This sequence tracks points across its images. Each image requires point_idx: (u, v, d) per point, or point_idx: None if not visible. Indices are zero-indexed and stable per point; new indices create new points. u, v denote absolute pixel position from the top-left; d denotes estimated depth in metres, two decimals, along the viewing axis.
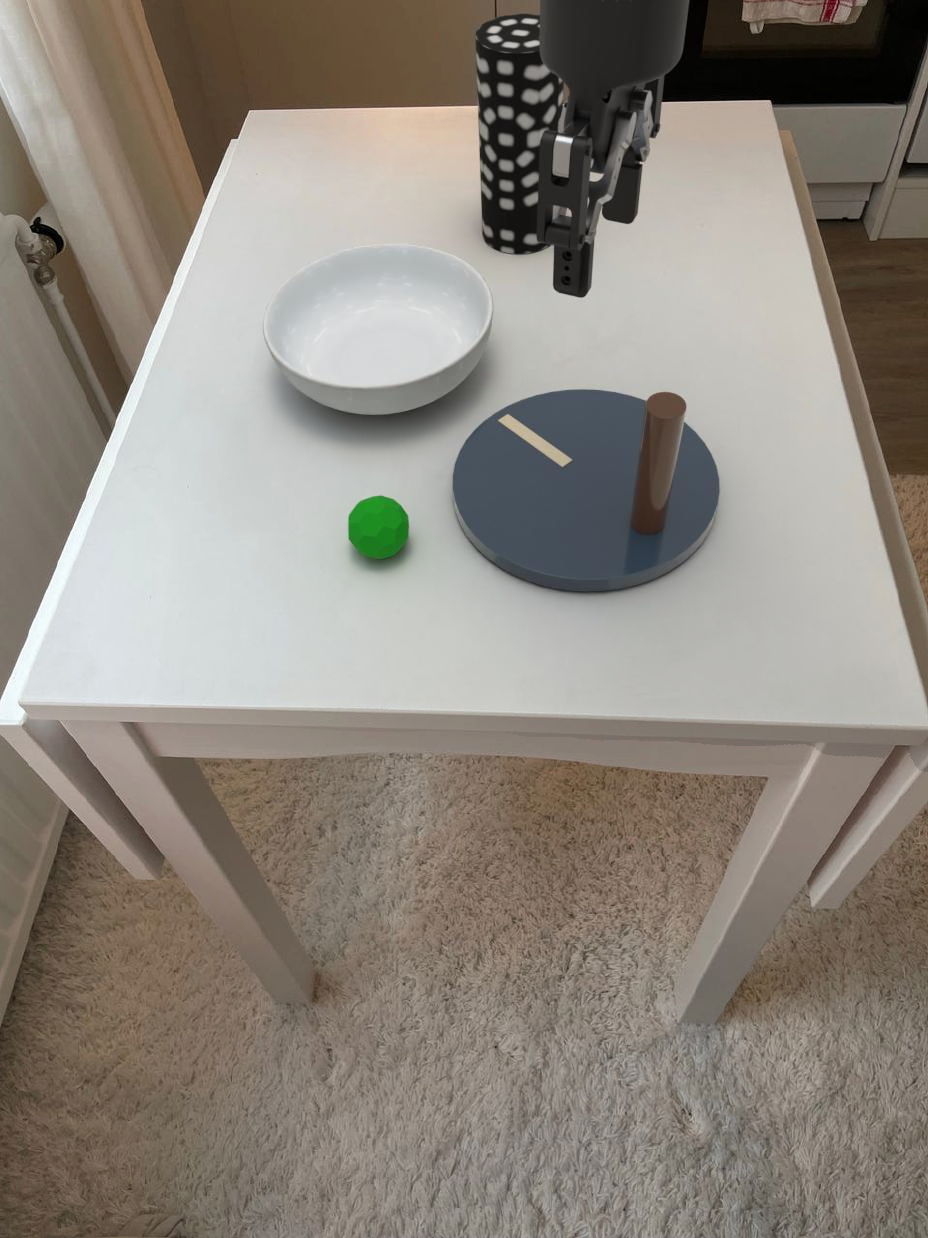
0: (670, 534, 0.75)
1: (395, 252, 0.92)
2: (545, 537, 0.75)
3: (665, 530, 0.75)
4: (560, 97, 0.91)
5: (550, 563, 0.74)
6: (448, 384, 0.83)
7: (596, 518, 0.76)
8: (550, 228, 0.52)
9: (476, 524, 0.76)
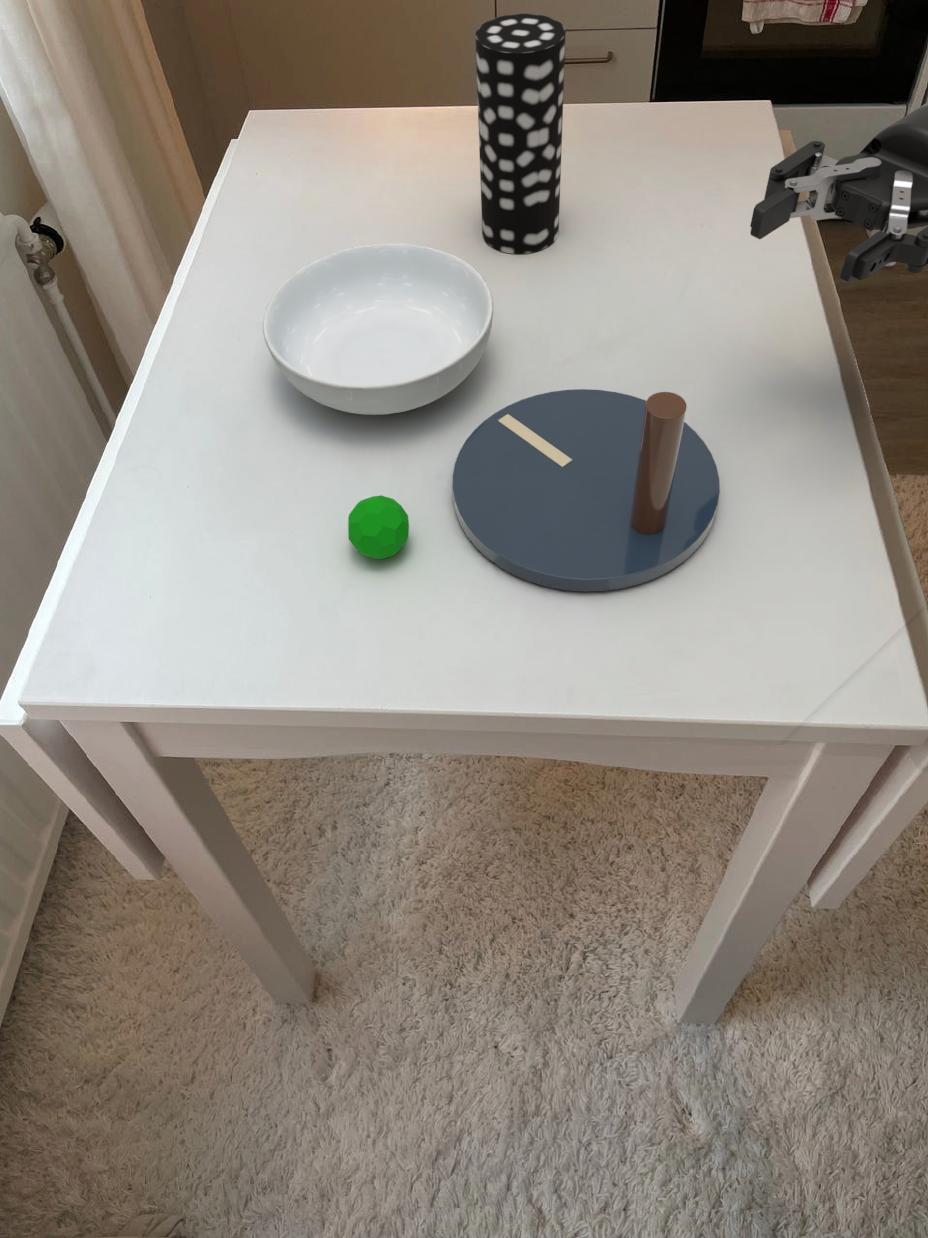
0: (670, 534, 0.75)
1: (395, 252, 0.92)
2: (545, 537, 0.75)
3: (665, 530, 0.75)
4: (560, 97, 0.91)
5: (550, 563, 0.74)
6: (448, 384, 0.83)
7: (596, 518, 0.76)
8: None
9: (476, 524, 0.76)
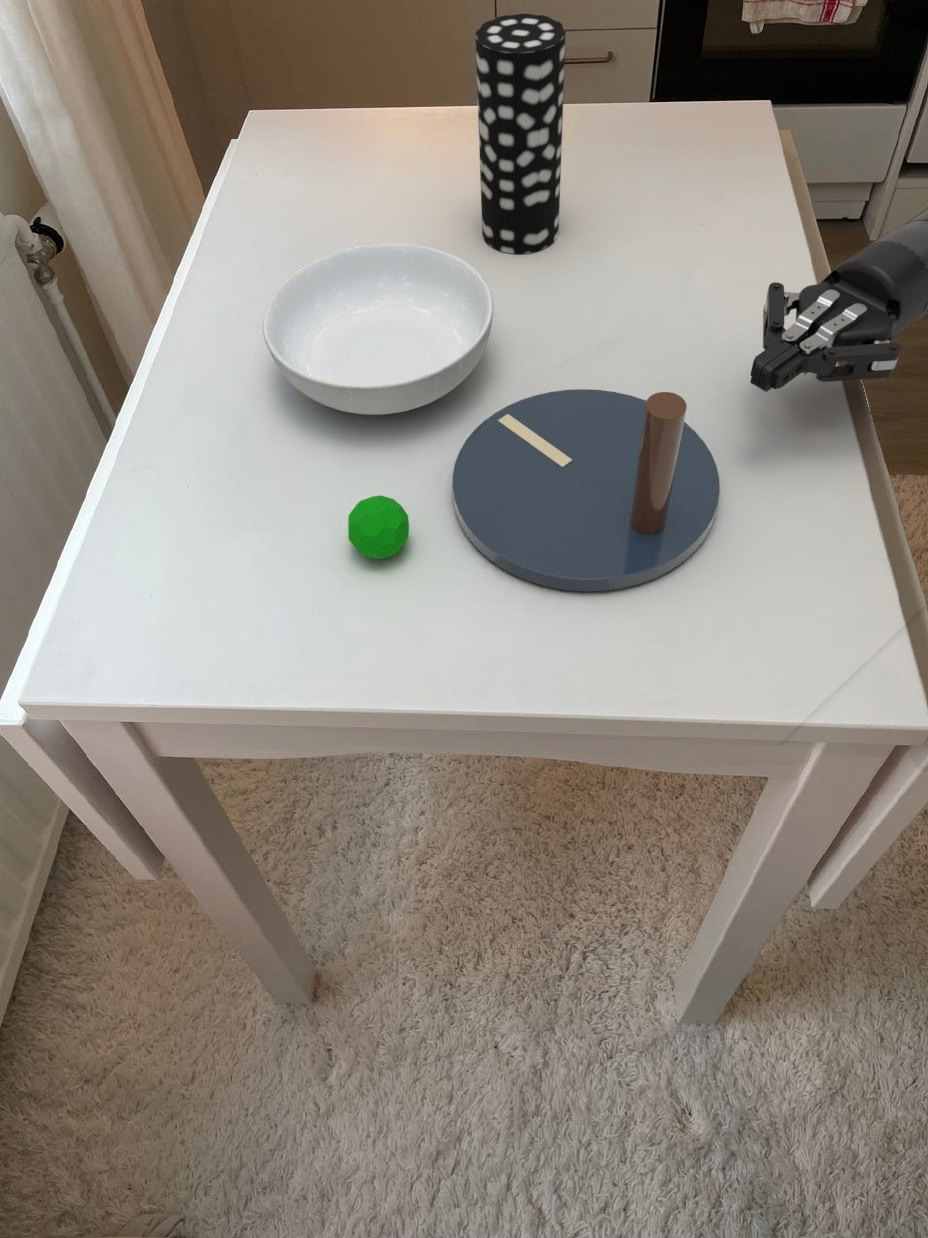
0: (670, 534, 0.75)
1: (395, 252, 0.92)
2: (545, 537, 0.75)
3: (665, 530, 0.75)
4: (560, 97, 0.91)
5: (550, 563, 0.74)
6: (448, 384, 0.83)
7: (596, 518, 0.76)
8: None
9: (476, 524, 0.76)
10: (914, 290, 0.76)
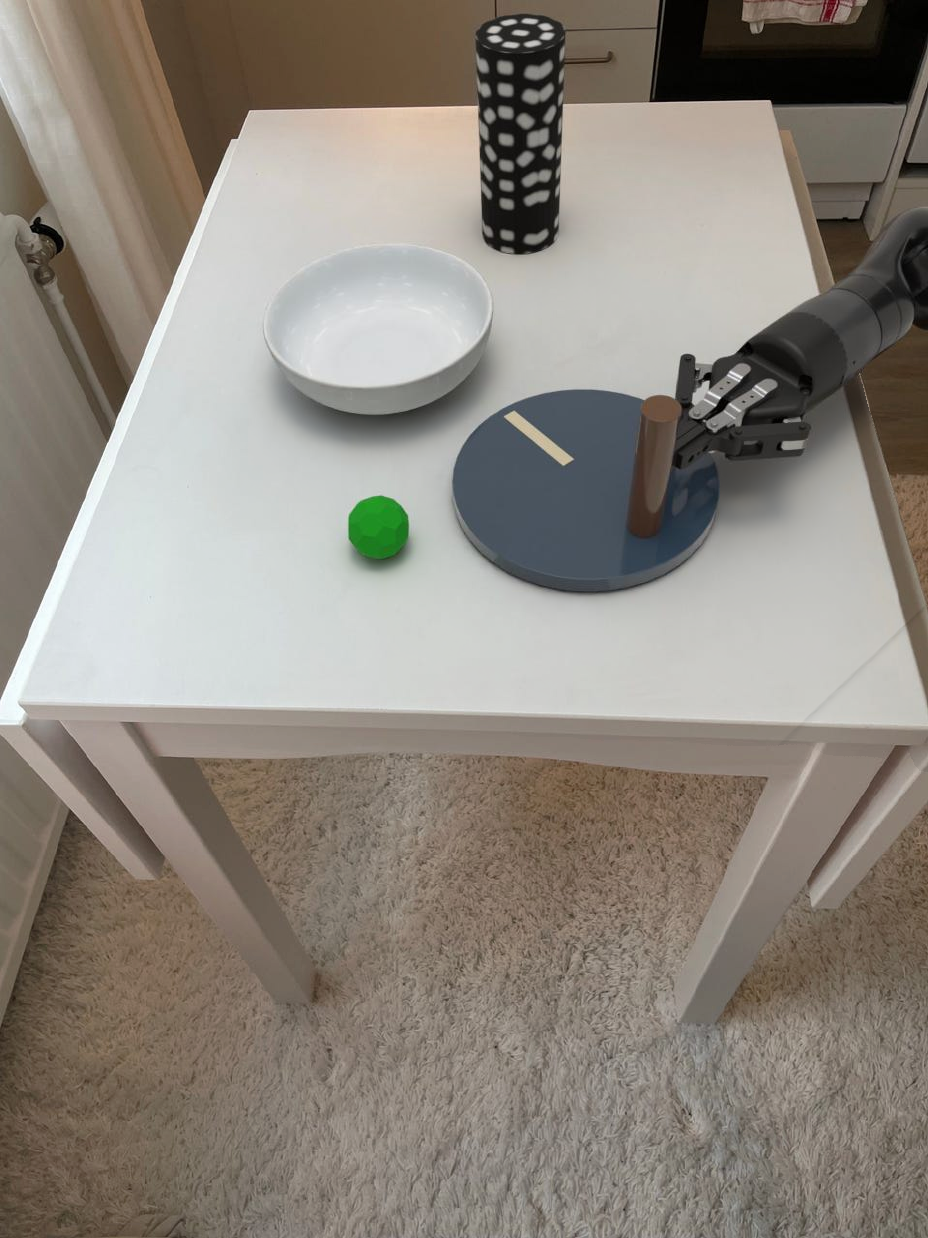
0: (664, 538, 0.75)
1: (395, 252, 0.92)
2: (539, 534, 0.75)
3: (660, 534, 0.75)
4: (560, 97, 0.91)
5: (541, 561, 0.74)
6: (448, 384, 0.83)
7: (592, 518, 0.76)
8: None
9: (472, 518, 0.77)
10: (827, 365, 0.73)
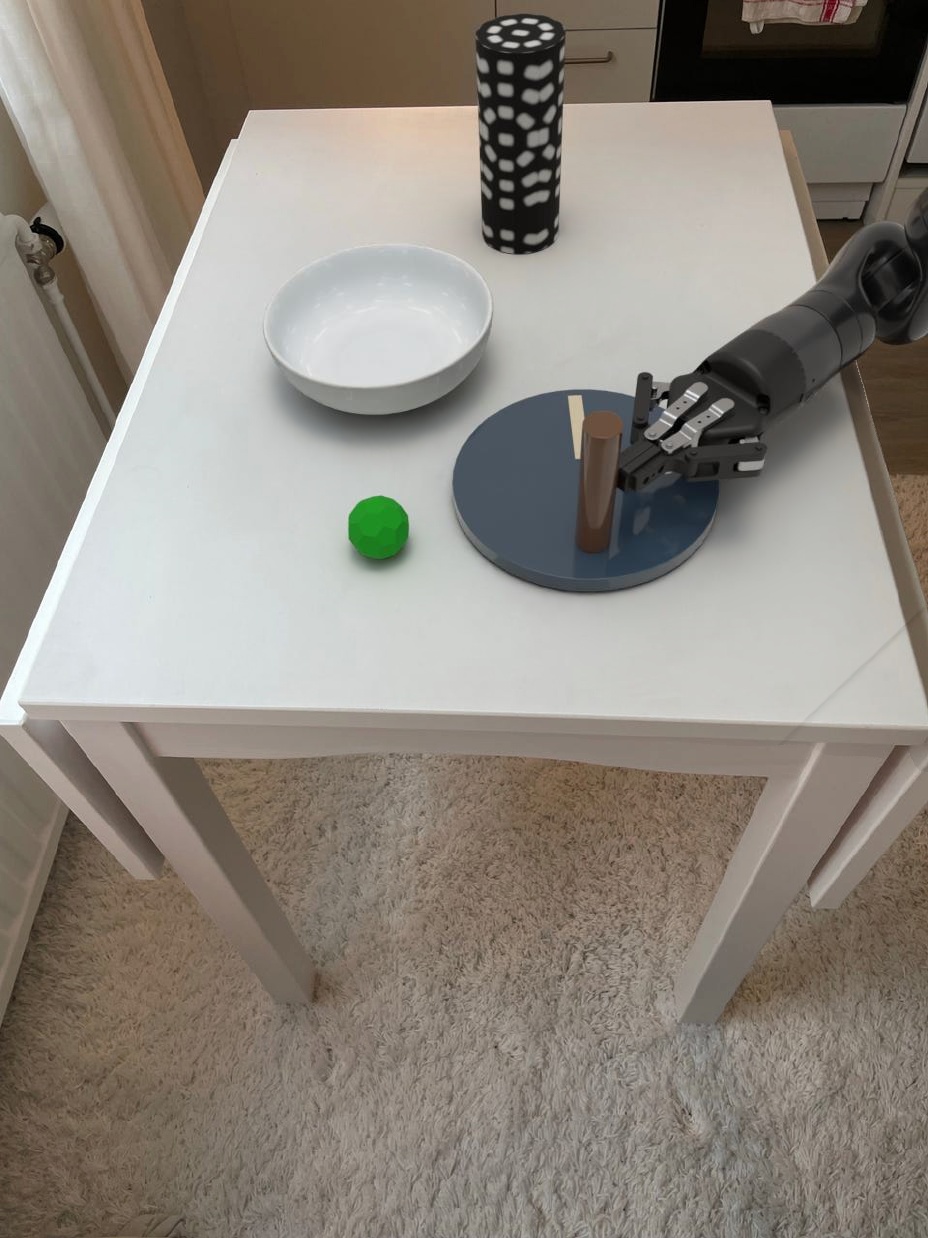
0: (598, 560, 0.74)
1: (395, 252, 0.92)
2: (501, 502, 0.78)
3: (598, 555, 0.74)
4: (560, 97, 0.91)
5: (481, 523, 0.76)
6: (448, 384, 0.83)
7: (555, 512, 0.77)
8: None
9: (463, 462, 0.81)
10: (785, 383, 0.72)
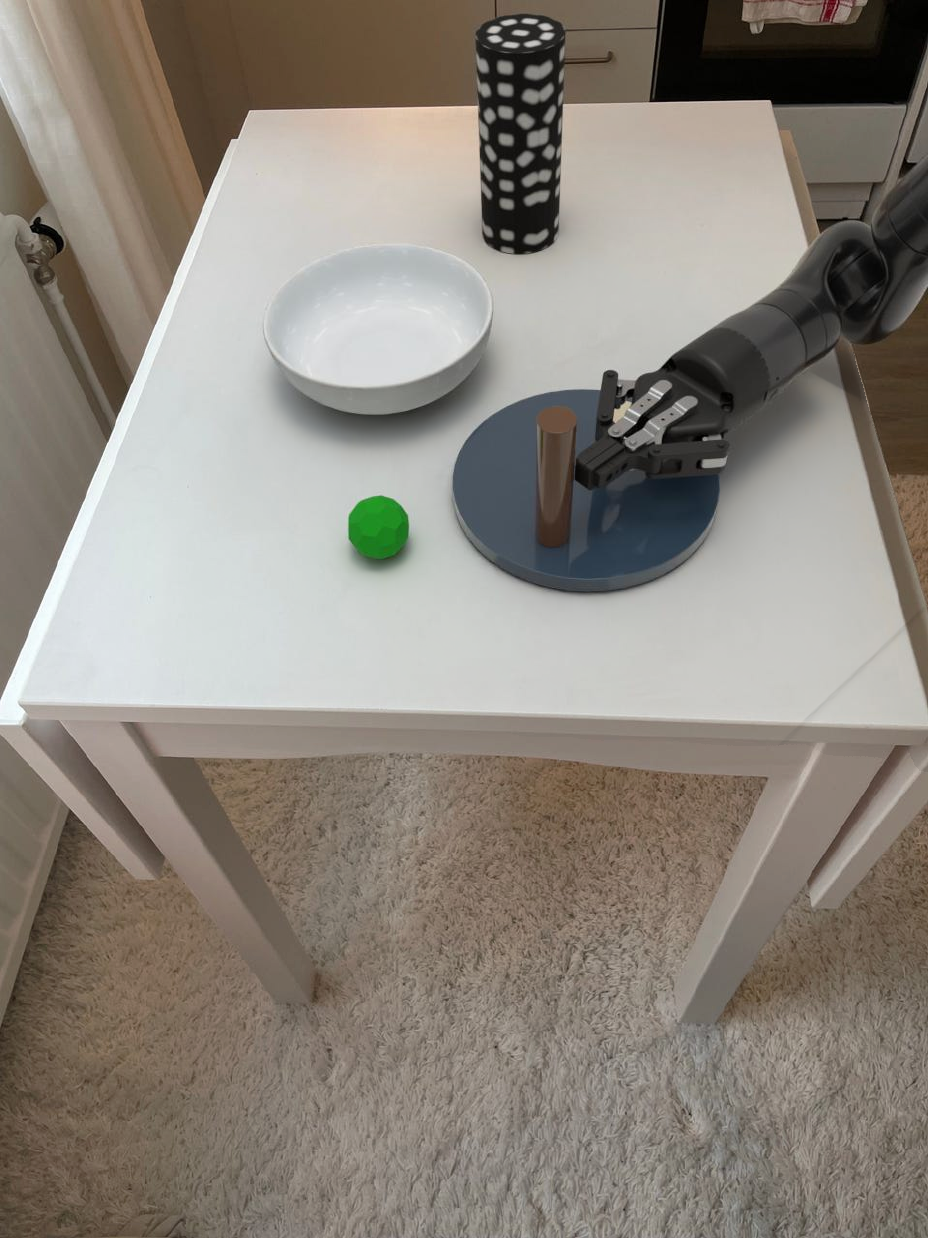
0: (544, 554, 0.74)
1: (395, 252, 0.92)
2: (494, 473, 0.80)
3: (548, 549, 0.74)
4: (560, 97, 0.91)
5: (465, 485, 0.79)
6: (448, 384, 0.83)
7: None
8: None
9: (485, 427, 0.83)
10: (749, 381, 0.73)
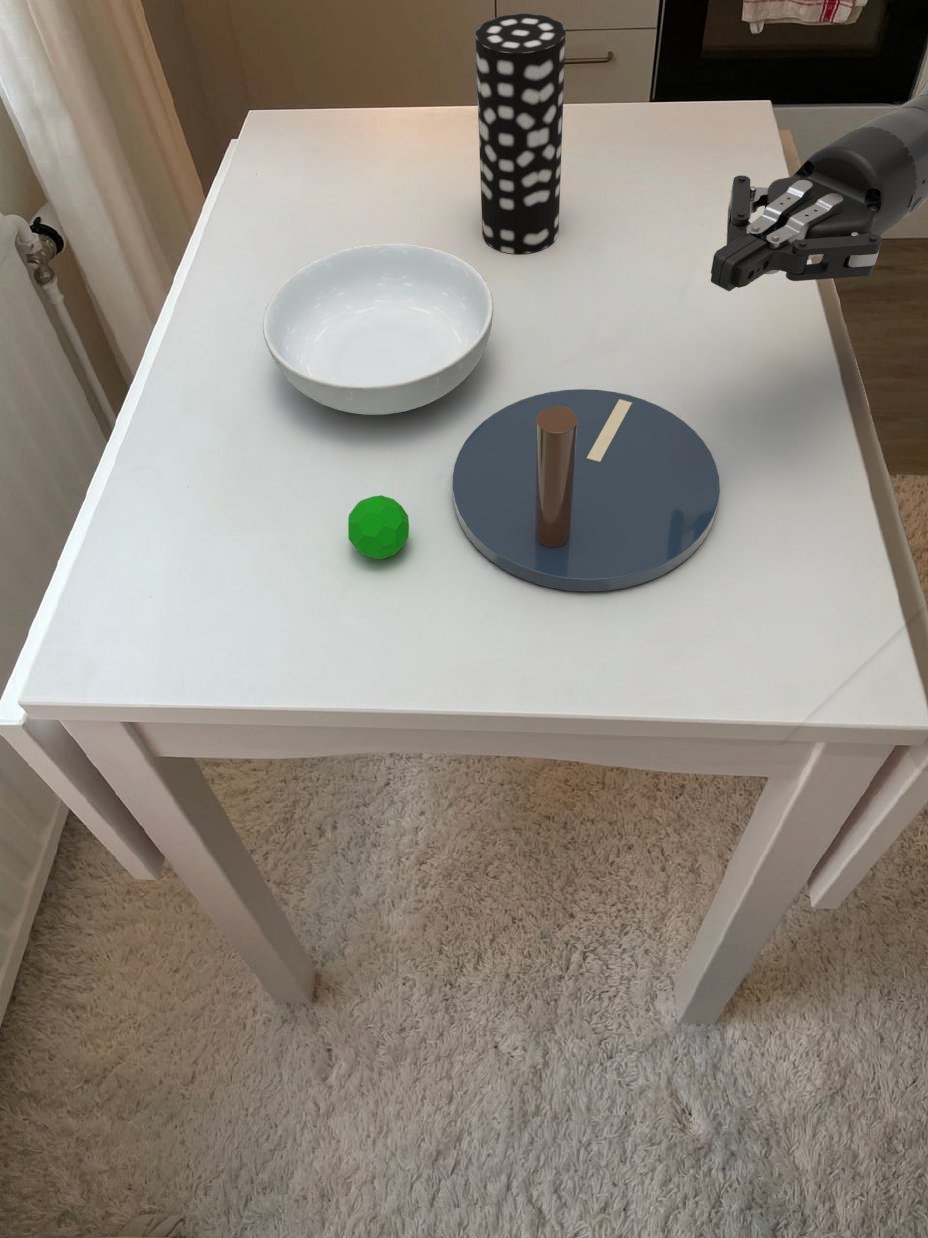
0: (544, 554, 0.74)
1: (395, 252, 0.92)
2: (494, 473, 0.80)
3: (548, 549, 0.74)
4: (560, 97, 0.91)
5: (465, 485, 0.79)
6: (448, 384, 0.83)
7: None
8: None
9: (485, 427, 0.83)
10: (897, 179, 0.67)
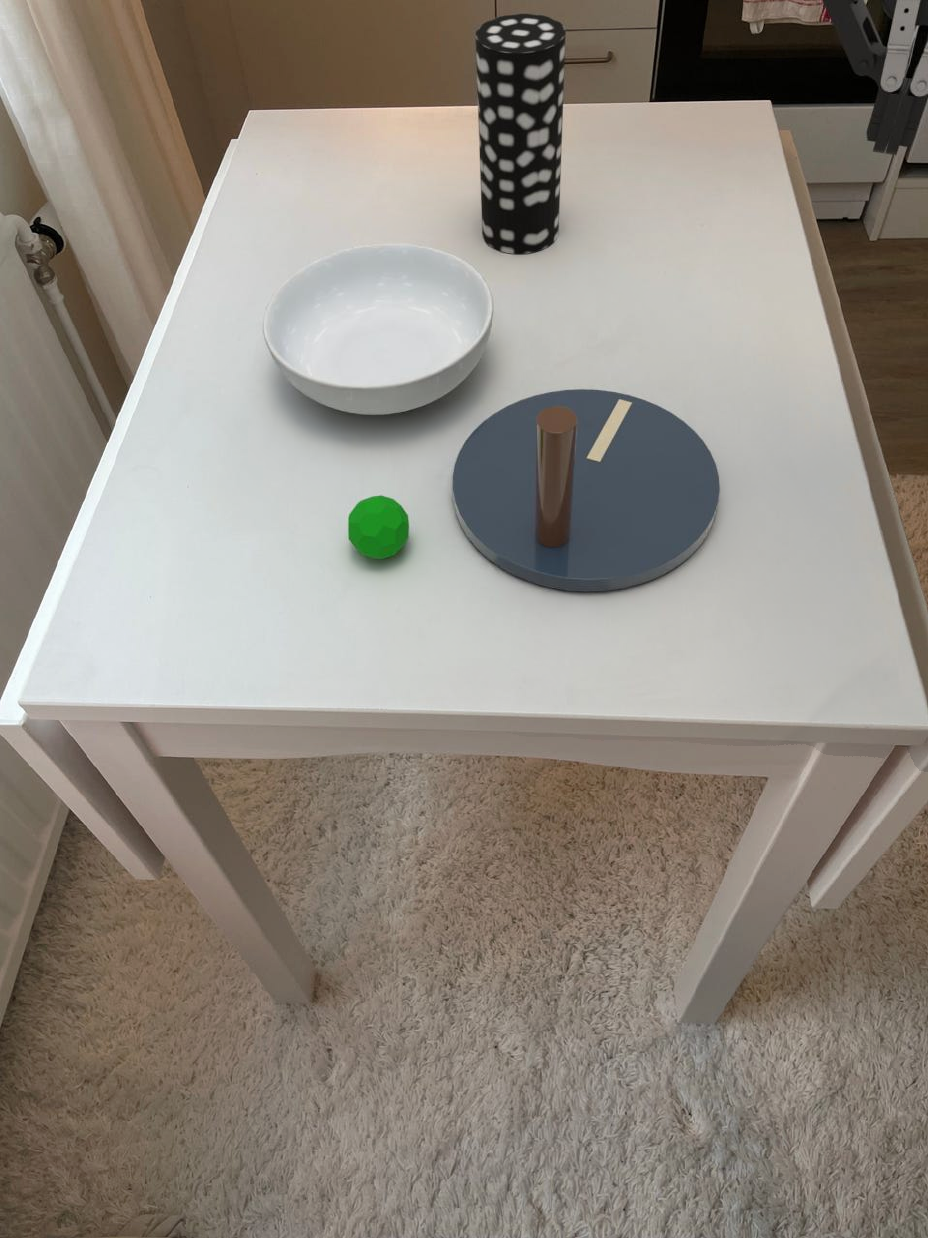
0: (544, 554, 0.74)
1: (395, 252, 0.92)
2: (494, 473, 0.80)
3: (548, 549, 0.74)
4: (560, 97, 0.91)
5: (465, 485, 0.79)
6: (448, 384, 0.83)
7: None
8: None
9: (485, 427, 0.83)
10: None
